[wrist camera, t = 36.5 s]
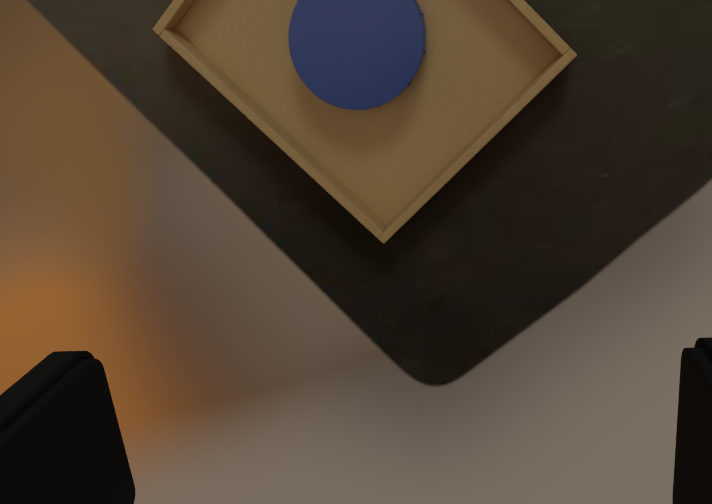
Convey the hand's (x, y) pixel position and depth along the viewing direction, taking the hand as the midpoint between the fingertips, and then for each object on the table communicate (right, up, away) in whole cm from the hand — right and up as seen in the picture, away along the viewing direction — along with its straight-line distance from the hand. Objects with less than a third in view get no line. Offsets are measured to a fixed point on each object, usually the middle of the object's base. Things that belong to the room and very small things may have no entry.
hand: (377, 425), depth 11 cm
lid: (0, +14, +23) cm, 27 cm away
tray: (0, +14, +25) cm, 29 cm away
